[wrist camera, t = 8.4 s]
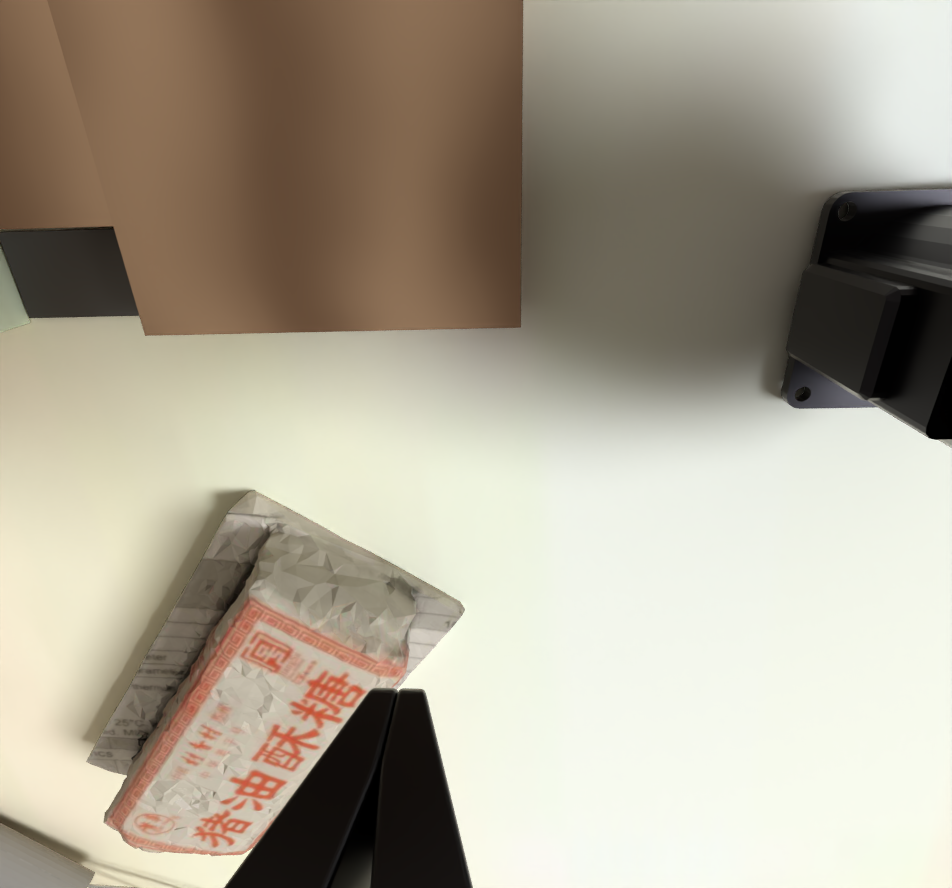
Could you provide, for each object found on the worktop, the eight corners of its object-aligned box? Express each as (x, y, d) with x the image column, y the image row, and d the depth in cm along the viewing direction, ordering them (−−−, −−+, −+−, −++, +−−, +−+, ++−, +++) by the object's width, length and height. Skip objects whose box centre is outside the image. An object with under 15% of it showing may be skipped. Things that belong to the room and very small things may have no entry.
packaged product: (188, 553, 17) (462, 688, 19) (249, 475, 21) (467, 593, 24) (32, 836, 24) (248, 910, 26) (103, 732, 28) (283, 804, 30)
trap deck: (520, -224, 13) (529, -357, 9) (517, 311, 18) (523, 341, 15) (-445, -170, 13) (-735, -277, 10) (-175, 327, 19) (-310, 359, 15)
